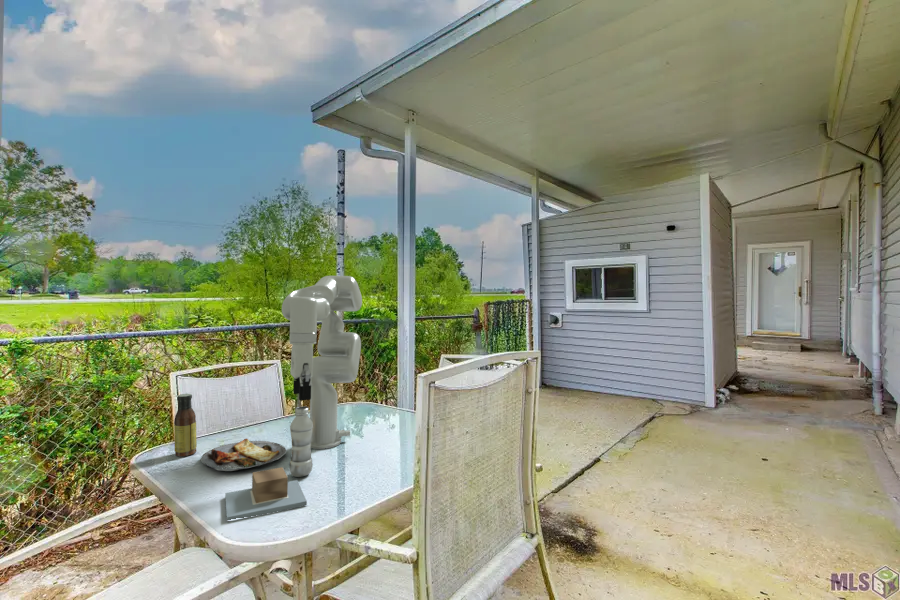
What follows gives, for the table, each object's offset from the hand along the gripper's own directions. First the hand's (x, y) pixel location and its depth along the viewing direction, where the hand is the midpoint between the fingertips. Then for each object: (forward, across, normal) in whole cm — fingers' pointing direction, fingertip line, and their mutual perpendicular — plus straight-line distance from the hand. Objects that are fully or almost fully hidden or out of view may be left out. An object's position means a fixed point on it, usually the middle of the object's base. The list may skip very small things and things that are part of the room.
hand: (301, 396), depth 127 cm
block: (+22, +11, -10) cm, 27 cm away
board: (+24, +12, -11) cm, 29 cm away
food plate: (+24, -22, -14) cm, 35 cm away
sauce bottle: (+23, -35, -31) cm, 52 cm away
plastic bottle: (+24, -1, 0) cm, 24 cm away
